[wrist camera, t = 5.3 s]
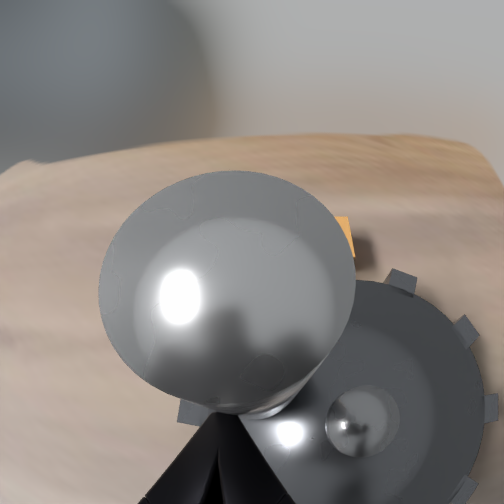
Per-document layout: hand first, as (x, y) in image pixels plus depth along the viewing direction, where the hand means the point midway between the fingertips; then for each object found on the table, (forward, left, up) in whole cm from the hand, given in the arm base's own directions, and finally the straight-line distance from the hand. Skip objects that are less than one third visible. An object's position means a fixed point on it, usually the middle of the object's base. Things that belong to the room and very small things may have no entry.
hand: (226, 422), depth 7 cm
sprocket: (-4, -3, -7) cm, 9 cm away
